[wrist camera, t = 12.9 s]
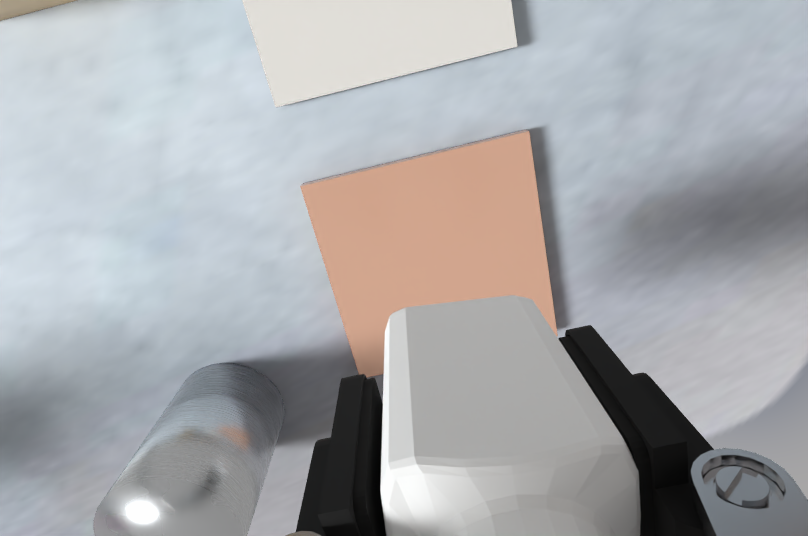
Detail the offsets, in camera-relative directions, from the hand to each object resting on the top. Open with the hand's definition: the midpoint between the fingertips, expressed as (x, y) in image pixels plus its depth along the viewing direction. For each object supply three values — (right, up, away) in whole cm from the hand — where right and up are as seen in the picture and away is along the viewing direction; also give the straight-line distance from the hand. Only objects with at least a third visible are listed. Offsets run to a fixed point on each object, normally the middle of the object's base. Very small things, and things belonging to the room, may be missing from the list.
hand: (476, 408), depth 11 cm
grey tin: (-10, -3, +12) cm, 16 cm away
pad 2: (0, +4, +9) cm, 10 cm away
